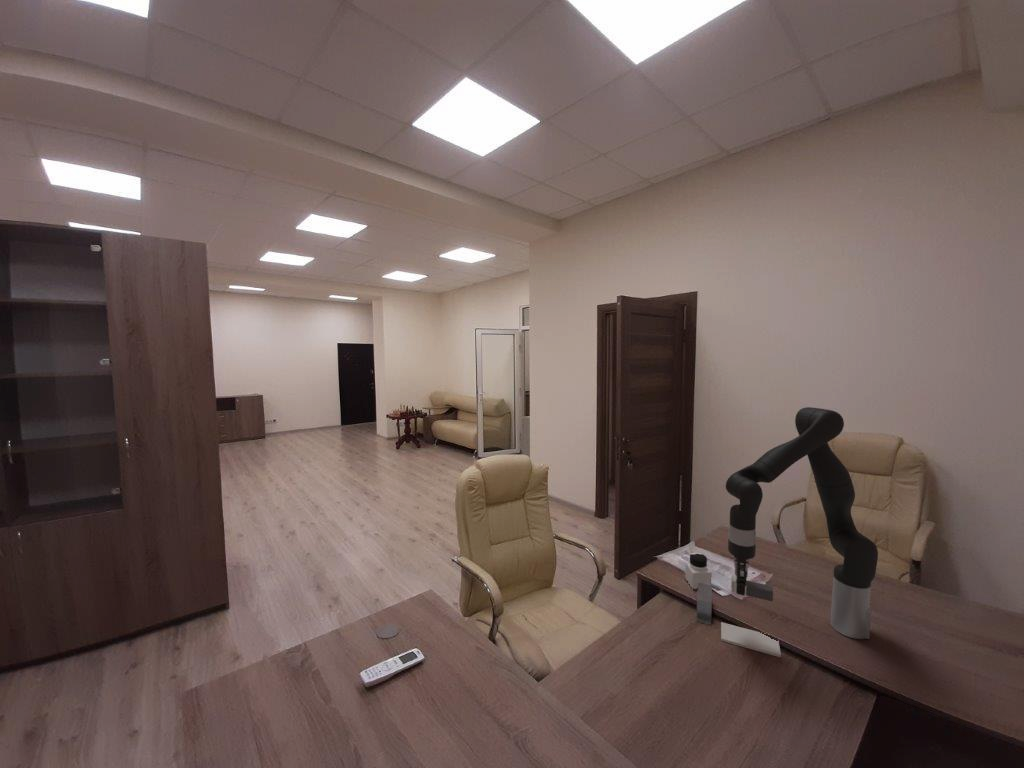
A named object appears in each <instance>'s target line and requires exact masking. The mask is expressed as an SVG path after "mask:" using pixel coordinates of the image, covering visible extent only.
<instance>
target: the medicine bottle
mask: <svg viewBox="0 0 1024 768" xmlns="http://www.w3.org/2000/svg"><path fill="white" fill-rule="evenodd" d="M684 567H685V571H684V572H685V573H684V574H685V575H684V578H685V580H686V582H687V581H688V582H687V583H688V584H690V585H689V586H690V588H691V587H692V588H696V589H697V588H698V583H702V584H706V585H711V586H712V571H711V570H710V569H709V567H708V558H707V556H706V555H705V554H703V553H701V552H692V553H690V555H689V562H688V561H687V562H685V566H684ZM692 588H691V589H692ZM697 590H698V589H697Z"/></svg>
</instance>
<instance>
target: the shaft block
mask: <svg viewBox="0 0 1024 768" xmlns="http://www.w3.org/2000/svg"><path fill="white" fill-rule="evenodd" d="M712 597H713V585H712V584H711V585H706V584H702V583H698V589H697V595H696V620H695V621H696V622H697V623H701V624H704V625H709V626H712V607H713V606H712V605H713V604H712V603H713V602H712V601H713V598H712Z"/></svg>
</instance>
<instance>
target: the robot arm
mask: <svg viewBox="0 0 1024 768" xmlns="http://www.w3.org/2000/svg"><path fill="white" fill-rule="evenodd" d="M794 424H795V429H796V431H797V433H798V436H797V437H794V438H793V439H791V440H789V441H786V442H784V443H782V444H779V445H777V446H775V447H773V448H771V449H769V450H768V451H766V452H765V453H764V454H762V455H761V456H760V457H759V458H758V459H757V460H755V461H754V462H753V463H752V464H750V465H748V466H745V467H743V468H741V469H739V470H738V471H736V472H734V473H732V474H731V475H730V476H729V477H728V478H727V480H726V482H725V489H726V492H727V493H728V494H730V495H731V496H733V497H734V498H735V499H737V500H739V503H738V504H733V505H732V506H731V507H730V510H729V526H728V531H727V532H728V534H727V535H728V538H727V550H728V553H729V554H731V555H732V556H733V564H734V565H733V566H734V567H733V568H734V575H736V576H737V580H736V583H737V594H736V595H740V596H743V595H745V586H746V585H747V584H746V580H747V578H748V576H749V575H748V572H749V566H750V565H749V564H750V562H749V560H752V559H753V558H755V557H756V551H757V550H756V548H757V532H756V526H757V525H756V524H757V523H756V522H757V514H758V511H759V509H760V506H761V505H762V501H763V497H764V496H763V493H764V492H763V490H762V487H761V485H760V484H759V483H767V484H770V483H772V482H773V481H775V480H776V479H777V478H778V477H780V476H782V474H783V473H784V472H785V471H787V470H788V469H789V468H790V467H791V466H793V464H795V463H797V462H798V461H799V460H801V459H803V458H804V457H806V456H807V459H808V461H809V465H810V467H811V468H810V469H811V471H812V475H813V478H814V483H815V486H816V489H817V493H818V495H819V498H820V502H821V506H822V508H823V511H824V515H825V519H826V525H827V531H828V539H829V541H830V545H831V547H832V548H833V550H834V551H836V552H837V553H838V554H839V555H841V557H843V564H837V565H836V566H834V568H833V576H832V593H831V606H830V620H829V621H830V626H831V627H832V628H833V629H834V630H835V631H836V632H837V633H839V634H841V635H843V636H845V637H847V638H851V639H856V640H863V639H867V640H870V635H871V622H872V610H871V608H870V602H871V600H870V599H871V587H872V582H873V580H874V579H875V577H876V571H877V565H878V559H879V551H878V546H877V545H876V544H875V542H874V541H872V540H871V539H869V538H868V537H867V536H865V535H864V534H862V533H861V532H859V531H858V529H857V528H856V525H855V522H854V519H853V516H852V511H851V510H852V507H853V505H854V502H855V498H856V491H855V487H854V484H853V479H852V477H851V474H850V472H849V471H848V469H847V467H846V466H845V465H844V463H842V461H841V459H839V458H838V456H837V455H836V454H835V453H834V451H833V450H832V449H831V447H830V445H829V442H830V441H833V440H834V439H835V438H836V437H838V436H839V435H840V434H841V433H842V432H843V430H844V426H845V422H844V418H843V416H842V415H841V414H840V413H839V412H837V411H835V410H830V409H825V408H819V407H808V406H806V407H802V408H801V409H798V411H797V412H796V415H795V420H794Z"/></svg>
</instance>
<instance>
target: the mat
mask: <svg viewBox="0 0 1024 768" xmlns="http://www.w3.org/2000/svg"><path fill="white" fill-rule="evenodd" d="M762 633H763V632H761V633H760V631H758V630H757V631H756V630H754V629H753V630H752V629H750V628H746V627H741V626H736V625H734V624H729V623H727V622H722V621H721V622H720V640H721V642H725V643H729V644H732V645H735V646H739V647H742V648H746V649H750V650H753V651H757V652H760V653H764V654H767V655H771V656H774V657H777V658H782V653H781V648H780V643H779V640H778V641H776V640H774V639H771V638H770V637H768V636H766V635H764V634H765V633H764V634H762Z"/></svg>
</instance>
